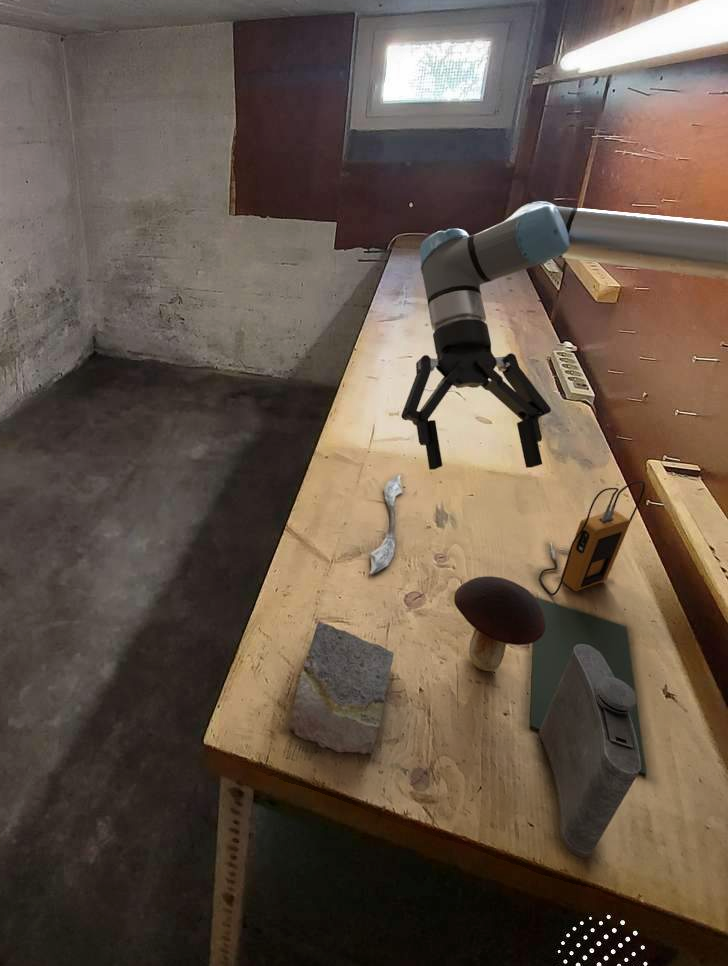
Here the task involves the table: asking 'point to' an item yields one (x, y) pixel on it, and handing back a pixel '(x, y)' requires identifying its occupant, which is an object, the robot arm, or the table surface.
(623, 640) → the mat
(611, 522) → the multimeter
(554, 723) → the flask
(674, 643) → the table surface
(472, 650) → the decorative mushroom
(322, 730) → the geological specimen
